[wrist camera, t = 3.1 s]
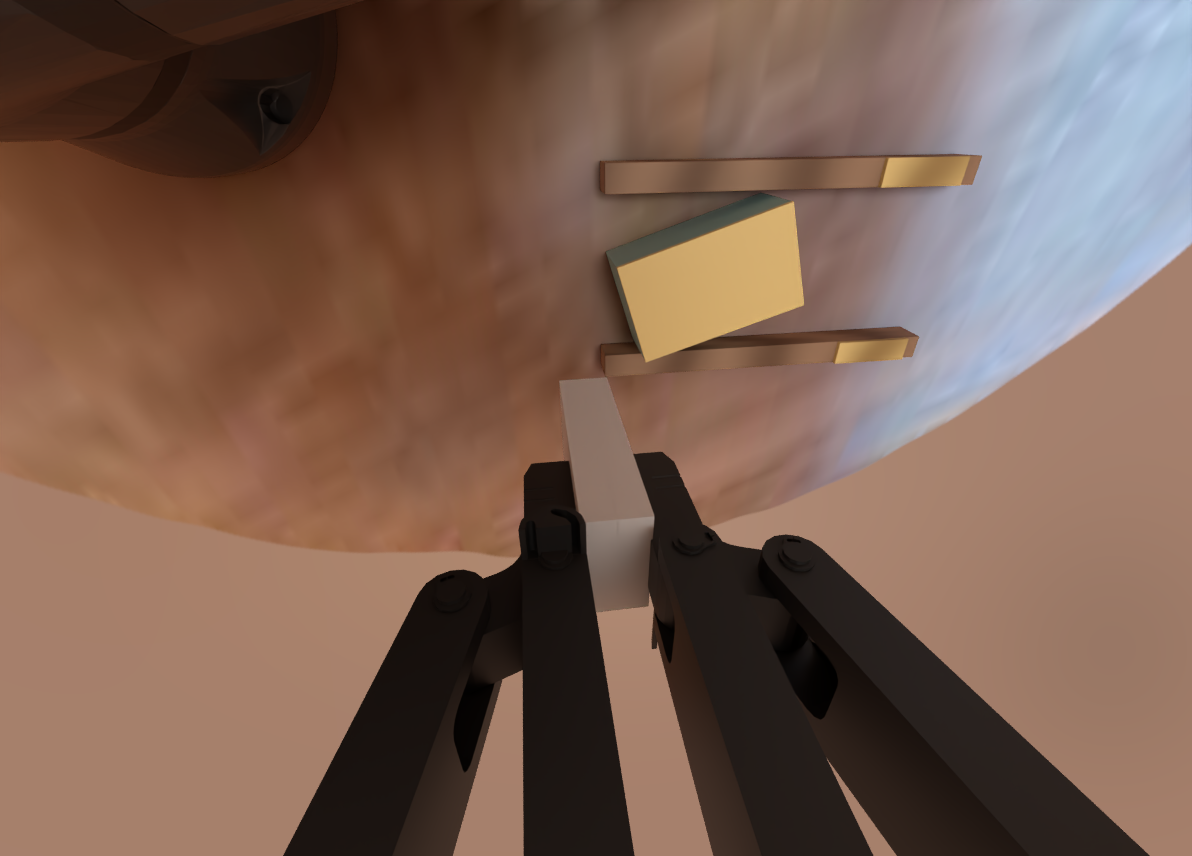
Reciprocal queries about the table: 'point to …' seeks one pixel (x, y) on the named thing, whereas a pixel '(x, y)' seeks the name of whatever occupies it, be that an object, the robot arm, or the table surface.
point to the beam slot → (777, 177)
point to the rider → (709, 275)
